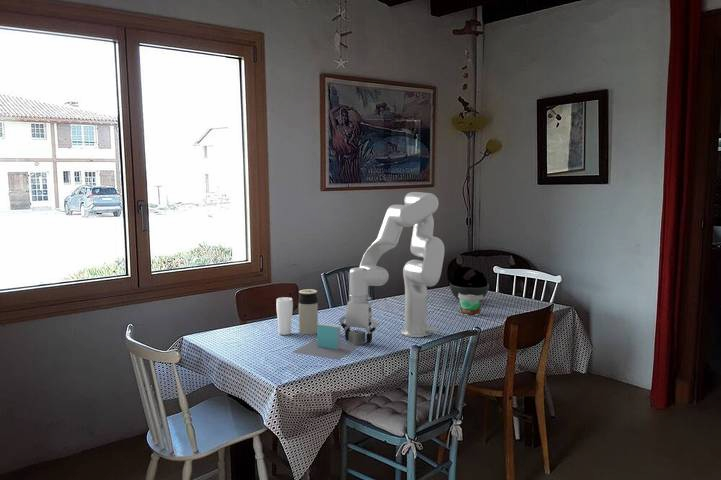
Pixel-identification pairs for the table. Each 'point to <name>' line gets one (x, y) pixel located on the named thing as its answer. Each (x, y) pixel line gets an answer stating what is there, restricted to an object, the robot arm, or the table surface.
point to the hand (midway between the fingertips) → (358, 341)
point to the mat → (325, 350)
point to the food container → (470, 303)
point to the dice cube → (356, 337)
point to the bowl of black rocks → (468, 283)
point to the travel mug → (308, 311)
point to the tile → (328, 336)
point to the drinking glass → (284, 315)
